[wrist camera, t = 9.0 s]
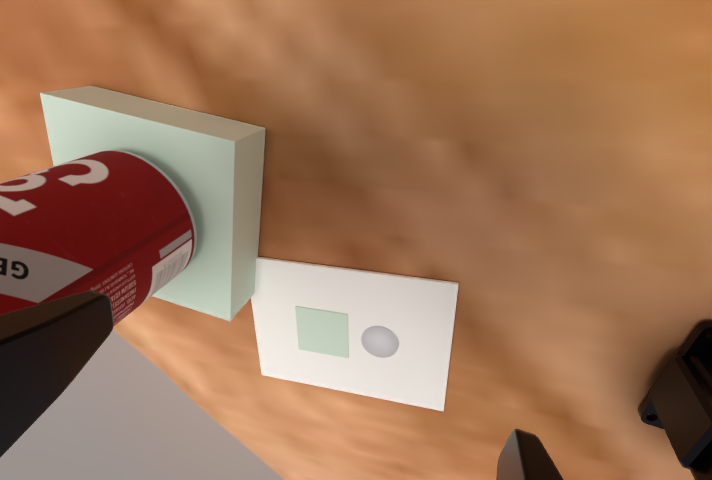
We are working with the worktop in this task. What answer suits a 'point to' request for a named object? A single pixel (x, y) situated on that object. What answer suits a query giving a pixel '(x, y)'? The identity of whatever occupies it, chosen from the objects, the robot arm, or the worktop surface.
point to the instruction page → (355, 330)
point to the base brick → (179, 180)
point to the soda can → (93, 232)
